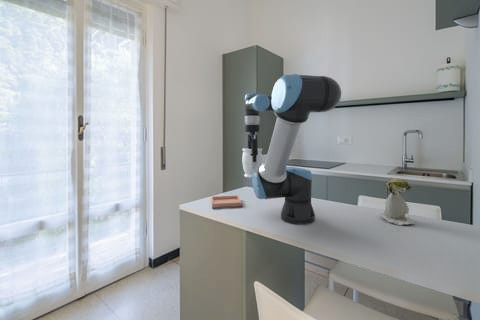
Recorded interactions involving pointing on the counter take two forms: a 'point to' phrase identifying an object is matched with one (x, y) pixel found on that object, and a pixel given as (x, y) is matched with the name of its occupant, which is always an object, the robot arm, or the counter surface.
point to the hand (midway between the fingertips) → (252, 166)
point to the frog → (397, 203)
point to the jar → (247, 162)
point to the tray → (226, 201)
